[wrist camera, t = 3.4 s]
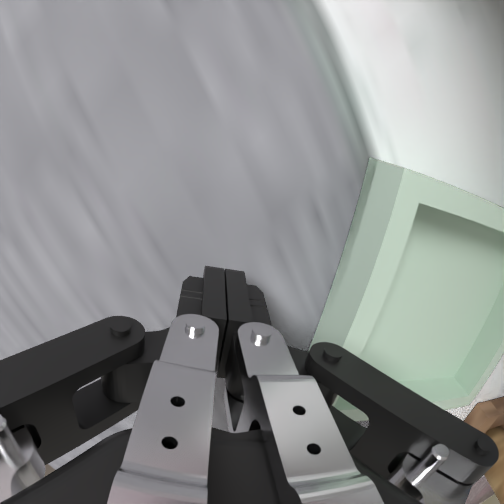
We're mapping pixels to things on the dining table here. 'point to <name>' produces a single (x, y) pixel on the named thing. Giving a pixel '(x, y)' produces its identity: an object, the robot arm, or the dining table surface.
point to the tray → (420, 287)
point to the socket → (487, 415)
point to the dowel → (497, 464)
